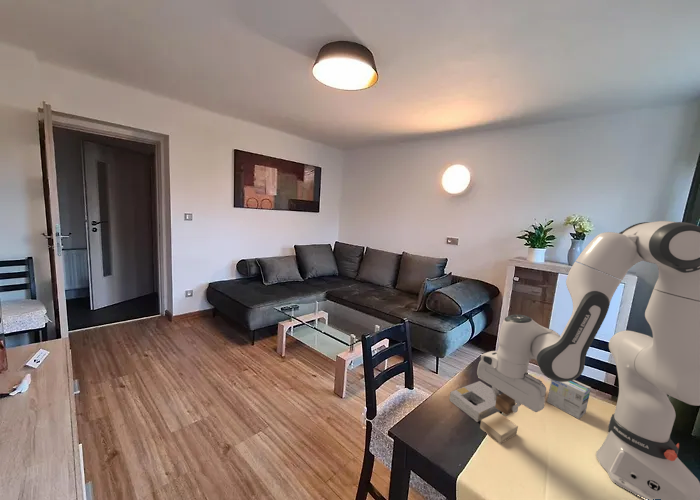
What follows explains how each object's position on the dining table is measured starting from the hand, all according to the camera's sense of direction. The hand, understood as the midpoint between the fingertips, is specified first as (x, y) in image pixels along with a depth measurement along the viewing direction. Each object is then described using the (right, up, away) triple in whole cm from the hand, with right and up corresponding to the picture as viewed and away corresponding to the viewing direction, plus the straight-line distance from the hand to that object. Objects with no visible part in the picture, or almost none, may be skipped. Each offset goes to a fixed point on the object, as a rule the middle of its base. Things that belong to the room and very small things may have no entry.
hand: (505, 405), depth 93 cm
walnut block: (0, -1, 0) cm, 1 cm away
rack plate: (-2, -7, +14) cm, 16 cm away
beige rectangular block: (-1, -9, +2) cm, 10 cm away
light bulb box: (+32, -10, +17) cm, 37 cm away
